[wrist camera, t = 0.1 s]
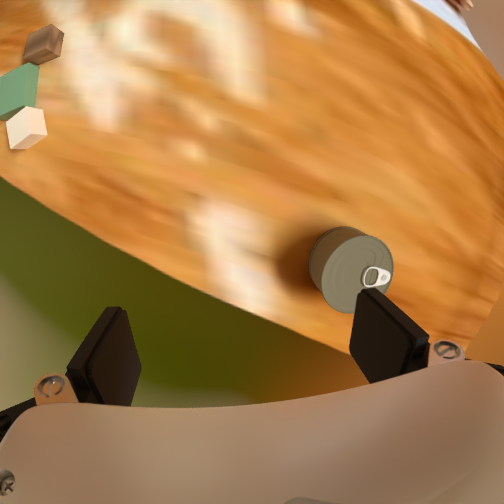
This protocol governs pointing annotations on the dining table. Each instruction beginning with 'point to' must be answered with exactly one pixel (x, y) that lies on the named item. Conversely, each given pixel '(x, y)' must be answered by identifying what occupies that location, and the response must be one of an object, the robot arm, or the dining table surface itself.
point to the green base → (18, 90)
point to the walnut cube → (44, 45)
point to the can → (349, 266)
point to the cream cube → (26, 128)
